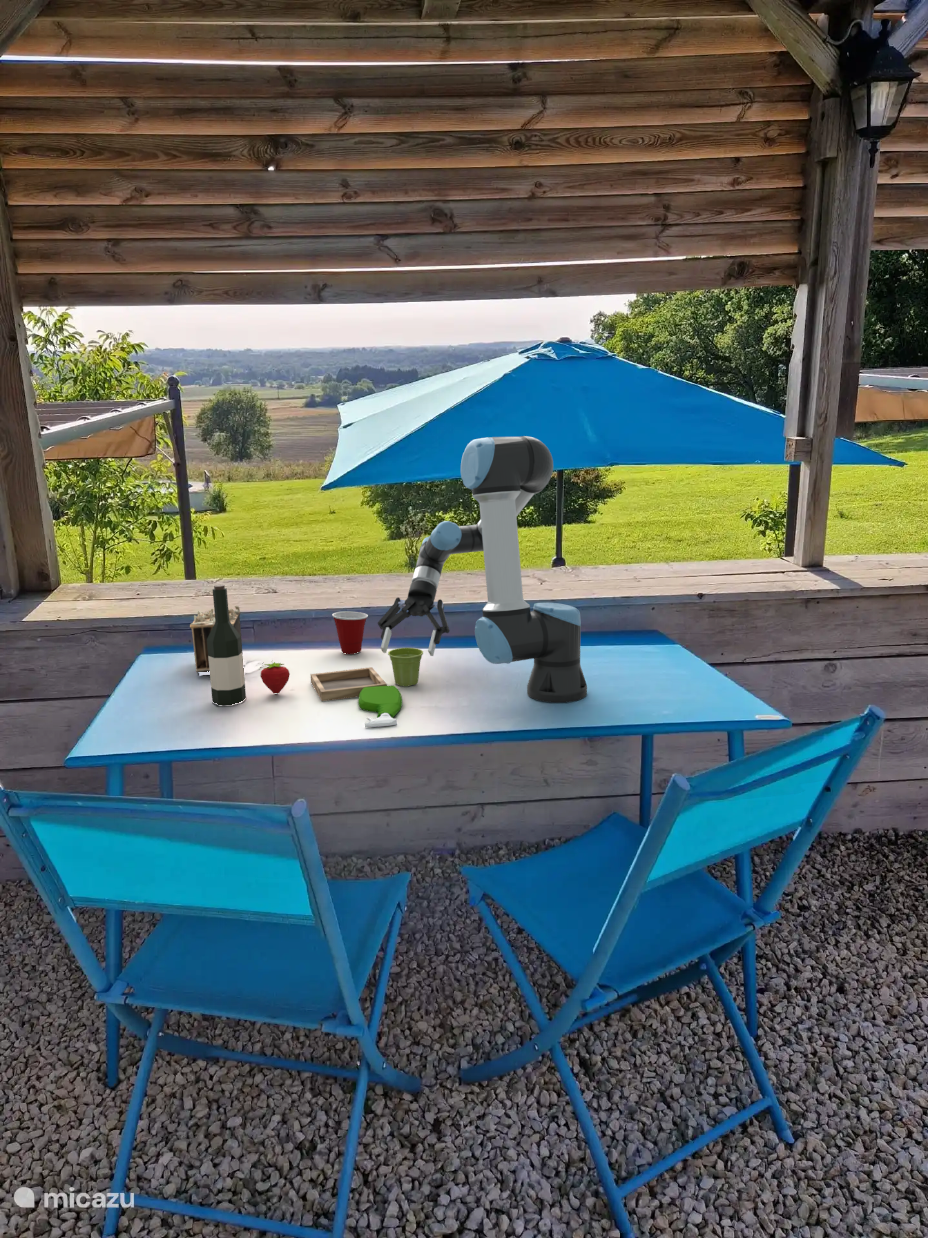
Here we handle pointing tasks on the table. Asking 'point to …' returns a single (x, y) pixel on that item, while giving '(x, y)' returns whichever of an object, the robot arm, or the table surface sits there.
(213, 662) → the wine bottle
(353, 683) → the square wooden tray
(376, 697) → the spray bottle
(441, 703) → the table surface
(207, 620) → the wooden crate with straw
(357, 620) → the plastic cup
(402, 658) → the plant pot
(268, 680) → the strawberry
